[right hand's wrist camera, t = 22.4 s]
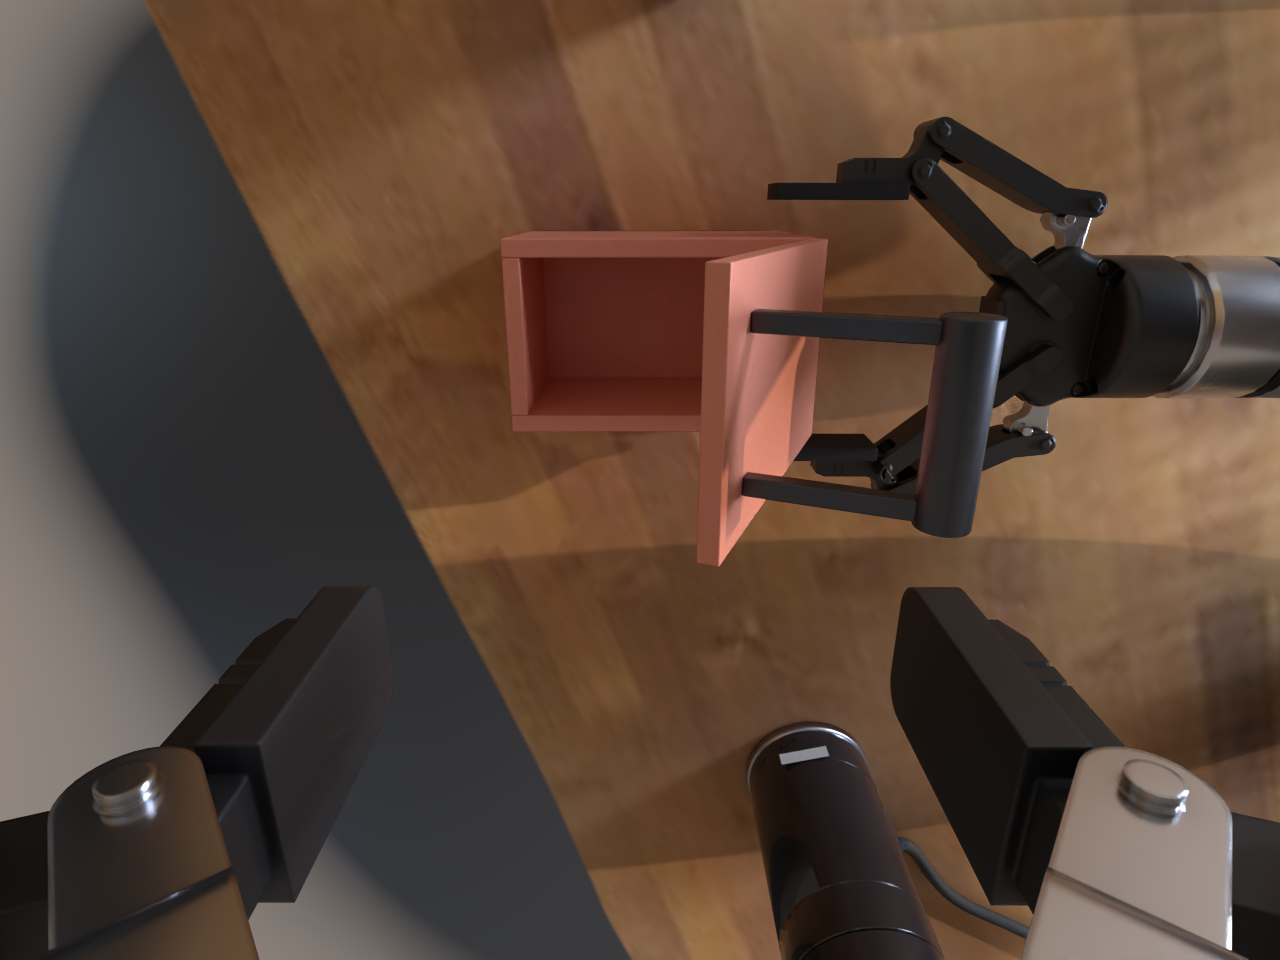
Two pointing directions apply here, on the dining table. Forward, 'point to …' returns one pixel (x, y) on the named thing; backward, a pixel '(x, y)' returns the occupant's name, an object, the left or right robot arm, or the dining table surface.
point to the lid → (785, 392)
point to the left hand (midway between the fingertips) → (762, 326)
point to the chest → (611, 325)
